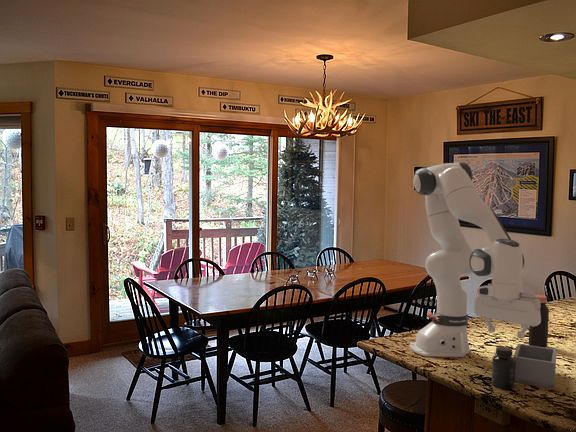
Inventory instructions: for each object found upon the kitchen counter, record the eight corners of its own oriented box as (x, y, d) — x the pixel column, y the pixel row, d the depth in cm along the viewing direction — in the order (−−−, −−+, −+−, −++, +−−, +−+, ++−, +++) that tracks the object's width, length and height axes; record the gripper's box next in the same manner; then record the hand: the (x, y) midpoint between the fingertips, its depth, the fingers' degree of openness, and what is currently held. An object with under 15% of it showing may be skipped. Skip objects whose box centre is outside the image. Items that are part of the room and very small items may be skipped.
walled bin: (553, 388, 162) (554, 363, 161) (512, 380, 167) (513, 356, 167) (555, 372, 176) (556, 349, 175) (517, 365, 181) (518, 343, 181)
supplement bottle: (508, 381, 167) (510, 345, 166) (518, 390, 160) (520, 352, 159) (487, 381, 167) (489, 345, 166) (497, 390, 160) (498, 352, 159)
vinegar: (549, 349, 200) (551, 298, 199) (530, 347, 202) (532, 297, 201) (544, 343, 207) (546, 294, 206) (526, 342, 208) (528, 293, 207)
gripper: (545, 294, 155) (544, 339, 156) (481, 285, 171) (481, 326, 172) (535, 297, 151) (535, 343, 152) (471, 287, 167) (471, 330, 167)
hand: (505, 334), depth 162 cm, fingers open, 8 cm apart
